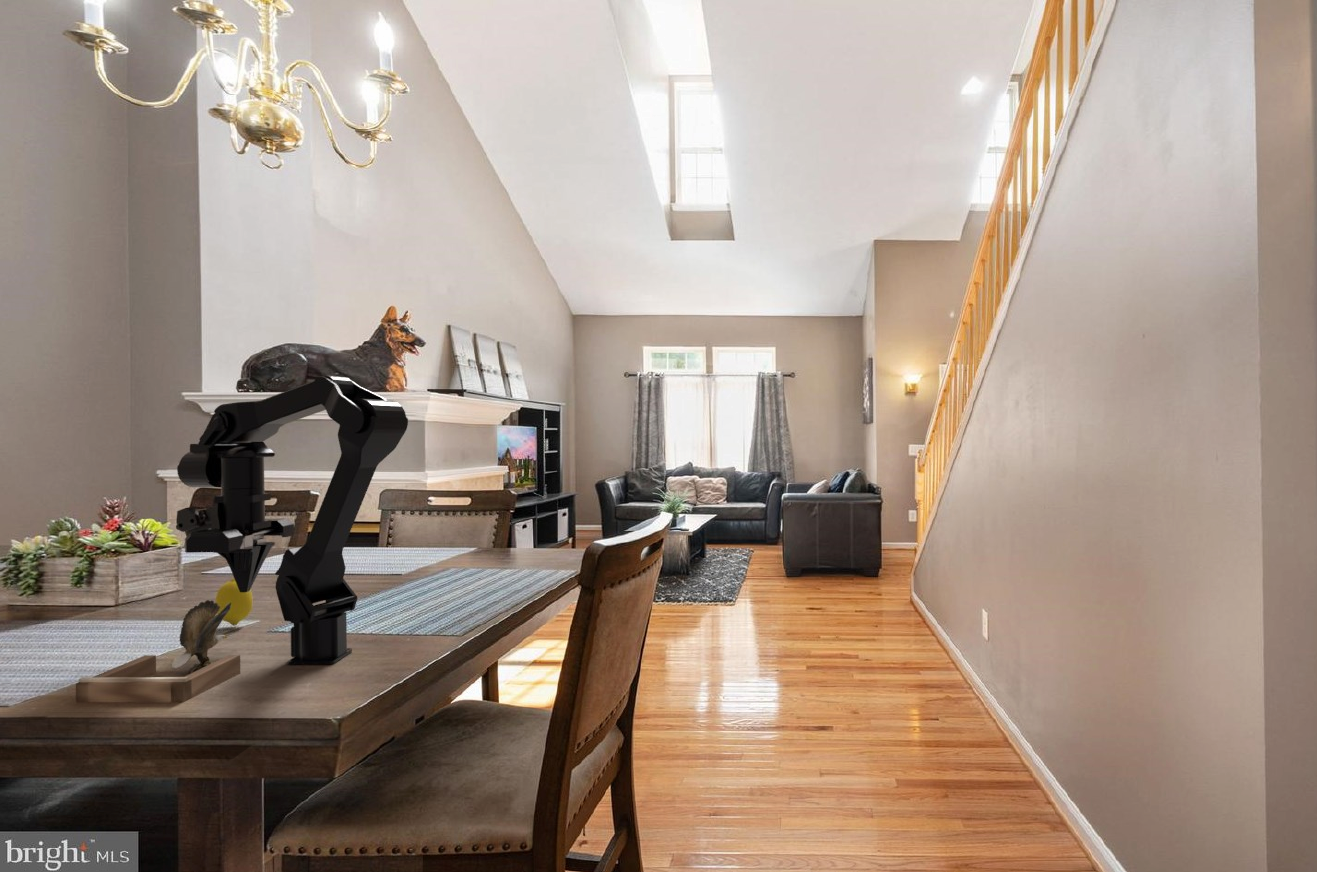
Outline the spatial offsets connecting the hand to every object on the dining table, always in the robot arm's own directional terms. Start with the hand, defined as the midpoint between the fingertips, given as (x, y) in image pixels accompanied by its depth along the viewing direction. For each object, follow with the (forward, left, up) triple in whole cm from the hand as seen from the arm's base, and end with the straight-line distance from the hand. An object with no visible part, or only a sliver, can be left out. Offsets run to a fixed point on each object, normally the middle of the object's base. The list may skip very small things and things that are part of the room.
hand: (244, 591), depth 112 cm
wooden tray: (0, +17, -9) cm, 19 cm away
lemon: (+10, -14, -9) cm, 19 cm away
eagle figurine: (0, +10, -9) cm, 13 cm away
